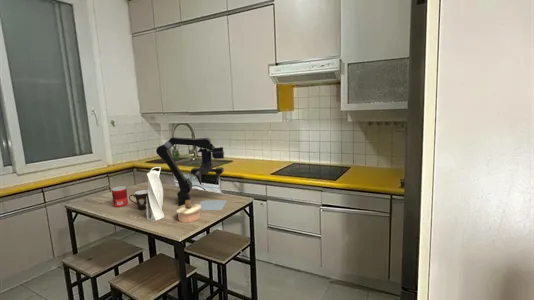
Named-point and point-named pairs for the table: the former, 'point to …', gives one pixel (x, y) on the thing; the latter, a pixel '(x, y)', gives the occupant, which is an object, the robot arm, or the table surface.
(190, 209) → the lid
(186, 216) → the bowl
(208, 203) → the mat
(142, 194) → the coffee mug
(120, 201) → the canned food
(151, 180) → the skyscraper
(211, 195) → the table surface
